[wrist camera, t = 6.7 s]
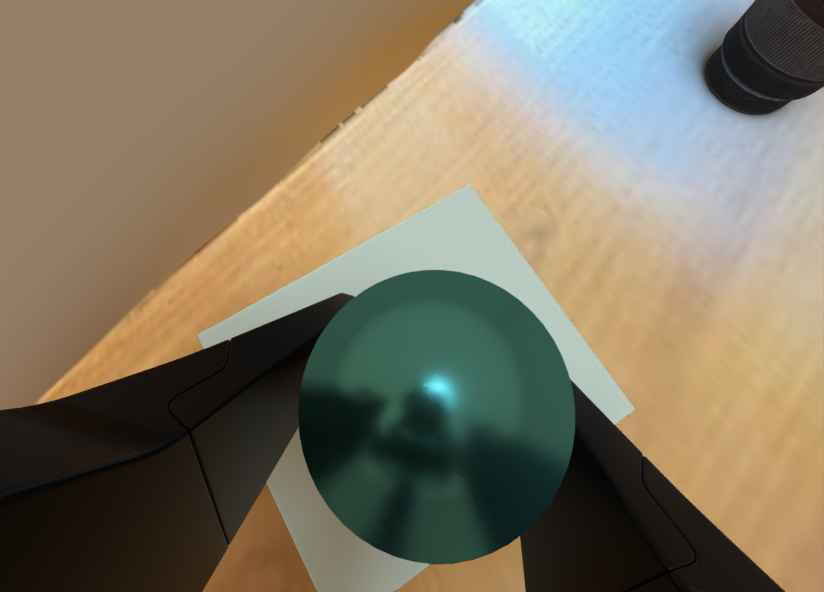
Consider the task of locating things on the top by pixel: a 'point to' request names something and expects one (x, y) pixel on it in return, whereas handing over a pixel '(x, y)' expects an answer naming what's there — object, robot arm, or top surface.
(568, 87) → the top surface
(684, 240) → the top surface
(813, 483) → the top surface
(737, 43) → the camera lens
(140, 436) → the robot arm
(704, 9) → the top surface
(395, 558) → the socket block
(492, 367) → the pin
